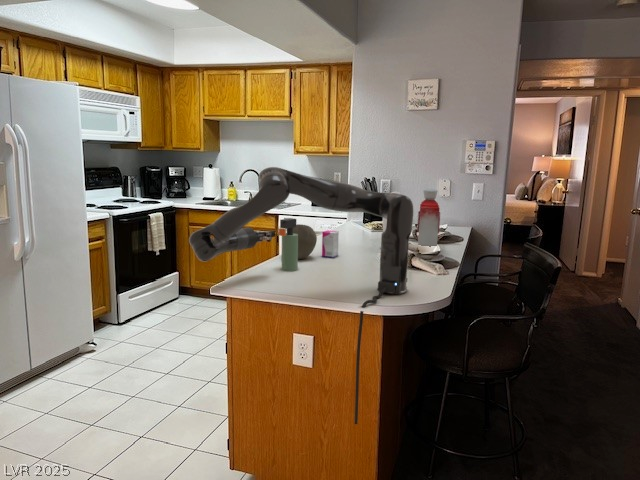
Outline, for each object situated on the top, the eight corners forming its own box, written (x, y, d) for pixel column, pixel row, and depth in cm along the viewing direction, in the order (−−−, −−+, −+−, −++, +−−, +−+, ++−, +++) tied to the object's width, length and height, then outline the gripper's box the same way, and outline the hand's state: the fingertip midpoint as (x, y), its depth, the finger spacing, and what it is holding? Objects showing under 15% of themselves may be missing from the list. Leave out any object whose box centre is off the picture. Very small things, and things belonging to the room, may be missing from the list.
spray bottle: (287, 272, 189) (288, 221, 185) (275, 269, 193) (275, 219, 189) (300, 268, 195) (301, 219, 191) (288, 266, 199) (289, 217, 195)
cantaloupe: (312, 262, 206) (313, 227, 203) (280, 260, 209) (280, 226, 206) (319, 256, 220) (319, 223, 217) (288, 254, 222) (289, 221, 220)
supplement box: (338, 255, 221) (339, 231, 219) (333, 258, 215) (334, 232, 213) (326, 254, 223) (327, 229, 221) (321, 257, 218) (322, 231, 216)
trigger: (283, 236, 187) (283, 229, 187) (278, 235, 189) (278, 228, 188) (285, 235, 188) (285, 229, 188) (280, 235, 190) (280, 228, 189)
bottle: (438, 255, 225) (442, 190, 220) (415, 254, 227) (419, 190, 222) (437, 249, 239) (441, 188, 234) (416, 248, 241) (419, 187, 236)
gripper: (253, 230, 166) (287, 225, 180) (227, 226, 174) (261, 221, 188) (254, 252, 168) (287, 245, 181) (227, 247, 176) (261, 240, 189)
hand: (273, 233), depth 185 cm, fingers closed
